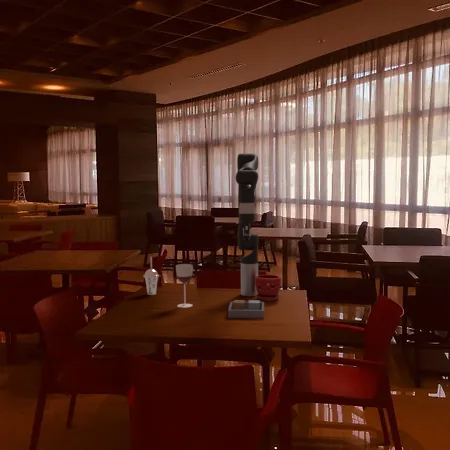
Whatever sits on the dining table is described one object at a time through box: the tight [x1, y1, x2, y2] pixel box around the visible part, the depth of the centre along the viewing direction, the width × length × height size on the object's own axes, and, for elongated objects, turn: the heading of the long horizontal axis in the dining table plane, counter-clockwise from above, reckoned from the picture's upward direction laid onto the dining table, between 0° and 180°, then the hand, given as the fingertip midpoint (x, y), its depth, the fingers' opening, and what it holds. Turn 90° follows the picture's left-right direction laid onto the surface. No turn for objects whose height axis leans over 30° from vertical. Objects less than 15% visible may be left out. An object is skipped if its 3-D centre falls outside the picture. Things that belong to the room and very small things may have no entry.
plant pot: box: [255, 274, 282, 302], centre depth 265 cm, size 13×13×12 cm
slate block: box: [248, 299, 261, 310], centre depth 237 cm, size 5×5×5 cm
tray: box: [227, 301, 265, 319], centre depth 238 cm, size 16×16×4 cm
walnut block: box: [232, 299, 246, 310], centre depth 238 cm, size 5×5×5 cm
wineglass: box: [175, 263, 194, 308], centre depth 253 cm, size 8×9×20 cm
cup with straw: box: [143, 256, 160, 296], centre depth 278 cm, size 8×9×20 cm
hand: (247, 246), depth 245 cm, fingers open, 8 cm apart
